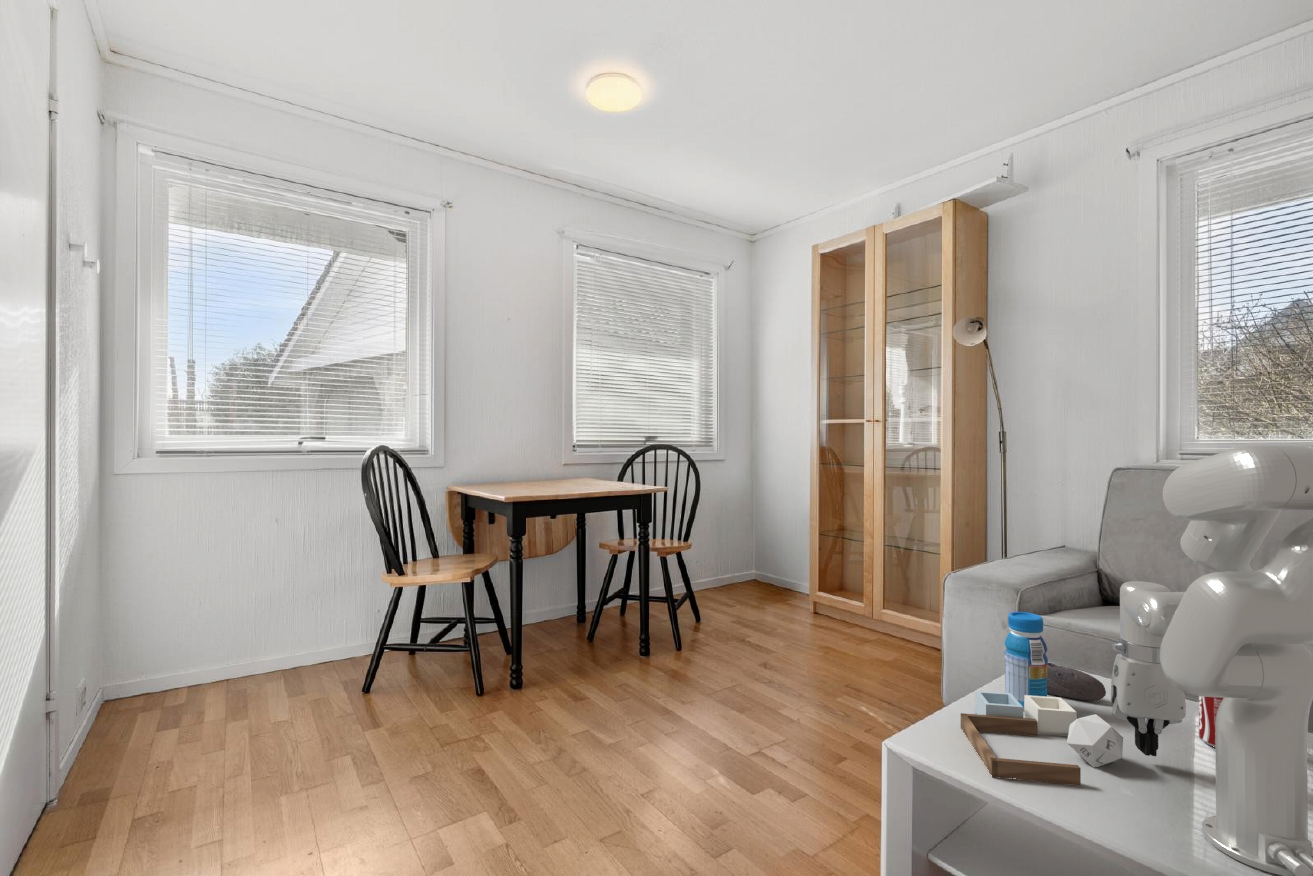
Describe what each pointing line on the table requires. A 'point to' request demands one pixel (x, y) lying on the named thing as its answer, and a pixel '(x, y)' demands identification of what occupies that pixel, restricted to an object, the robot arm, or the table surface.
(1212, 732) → the soda can
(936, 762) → the table surface
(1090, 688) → the perforated stone tool
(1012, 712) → the greyblue cup
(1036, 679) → the beverage bottle
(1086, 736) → the die
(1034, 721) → the walnut bay
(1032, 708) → the offwhite cup
